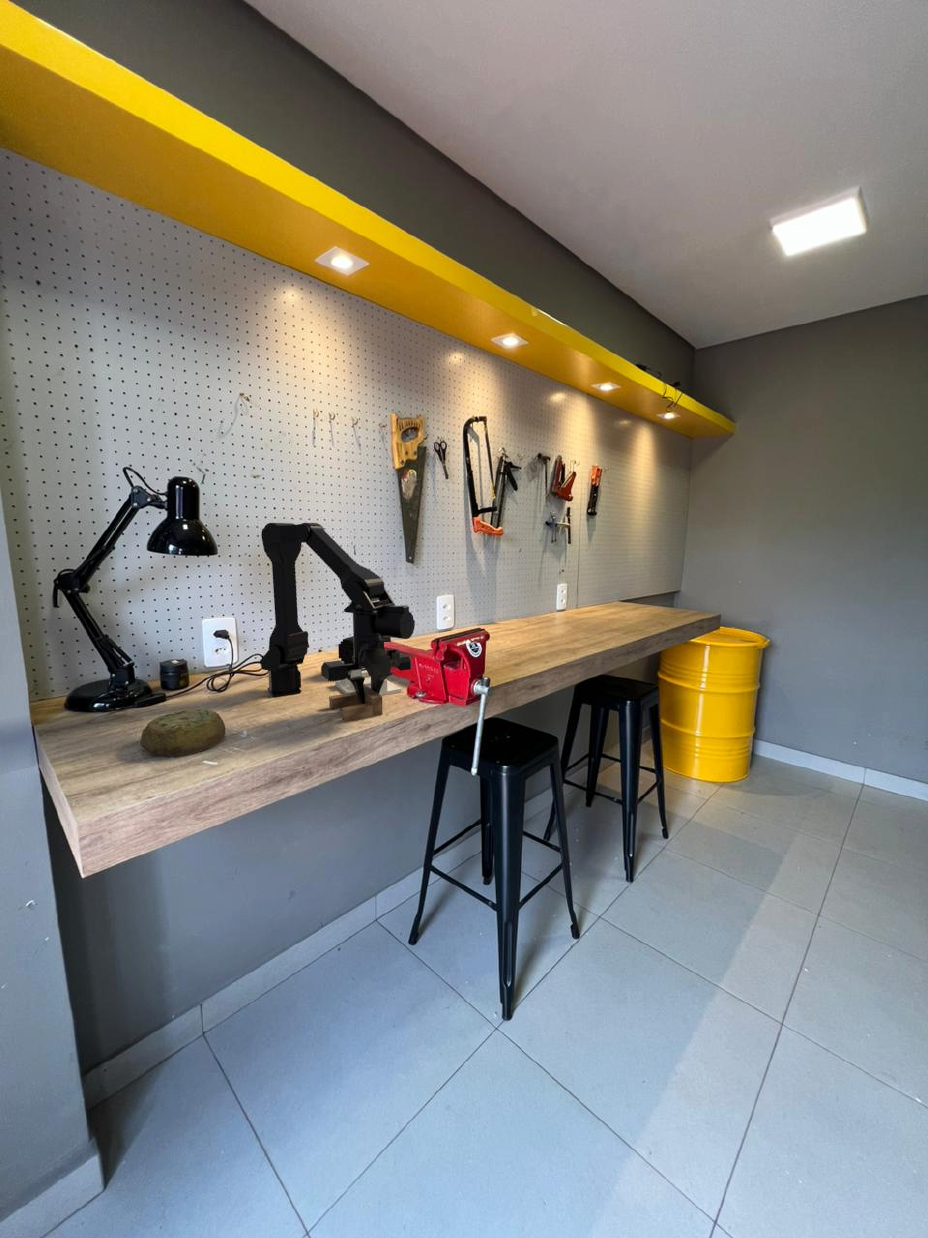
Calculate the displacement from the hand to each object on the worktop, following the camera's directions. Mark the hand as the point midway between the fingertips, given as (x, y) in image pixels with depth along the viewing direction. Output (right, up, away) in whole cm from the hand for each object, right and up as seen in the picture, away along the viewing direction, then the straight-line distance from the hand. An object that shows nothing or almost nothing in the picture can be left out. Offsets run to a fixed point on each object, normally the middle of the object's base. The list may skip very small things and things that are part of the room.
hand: (368, 704), depth 108 cm
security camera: (-6, +4, +31) cm, 32 cm away
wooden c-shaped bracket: (-3, -1, -1) cm, 3 cm away
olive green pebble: (-30, -4, -18) cm, 35 cm away
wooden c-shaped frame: (-3, +1, +14) cm, 14 cm away
